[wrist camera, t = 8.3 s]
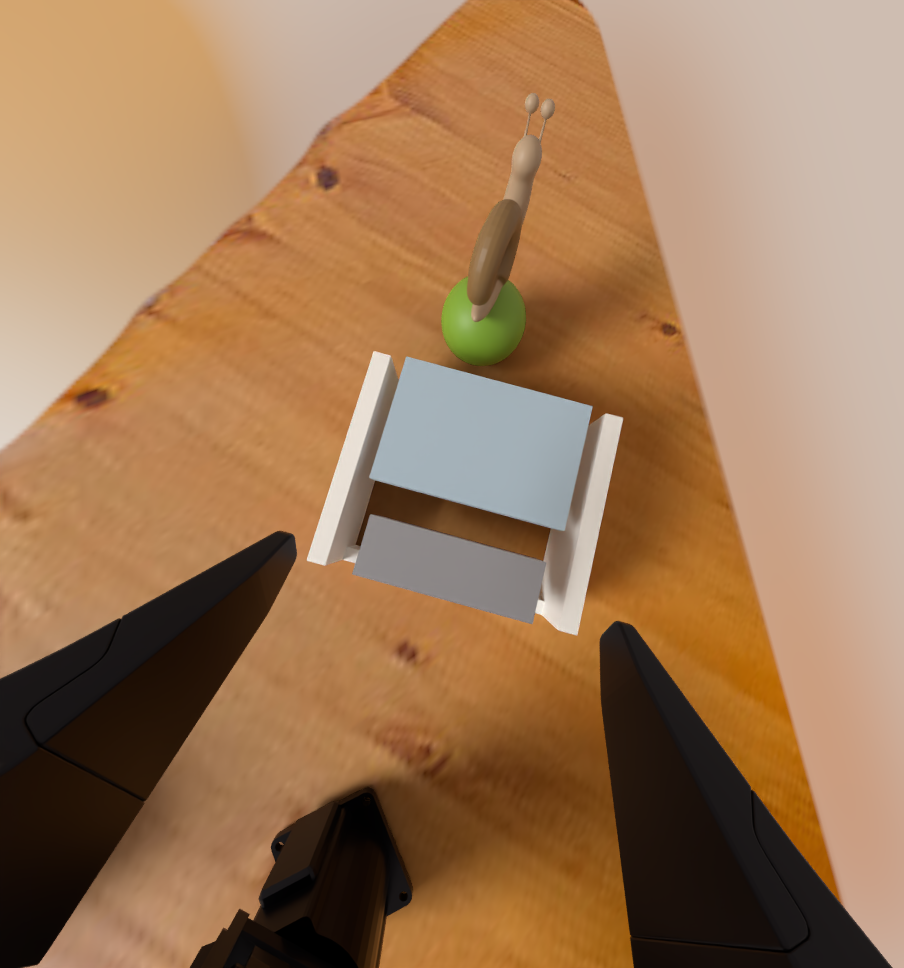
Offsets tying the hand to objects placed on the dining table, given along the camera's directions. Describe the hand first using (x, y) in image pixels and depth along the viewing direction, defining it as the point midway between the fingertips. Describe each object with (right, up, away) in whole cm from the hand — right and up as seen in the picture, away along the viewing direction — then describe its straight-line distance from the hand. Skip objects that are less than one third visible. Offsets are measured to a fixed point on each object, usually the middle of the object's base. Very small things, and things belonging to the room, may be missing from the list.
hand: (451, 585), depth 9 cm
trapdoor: (+1, +3, +10) cm, 10 cm away
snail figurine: (+2, +13, +15) cm, 21 cm away
